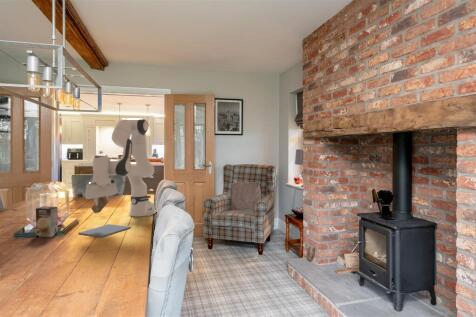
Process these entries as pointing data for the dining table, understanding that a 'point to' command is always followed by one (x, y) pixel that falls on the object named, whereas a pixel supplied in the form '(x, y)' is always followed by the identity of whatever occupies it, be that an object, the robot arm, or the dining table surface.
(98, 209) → the walnut block
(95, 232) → the mat
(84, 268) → the dining table surface
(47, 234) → the coffee box
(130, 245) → the dining table surface
